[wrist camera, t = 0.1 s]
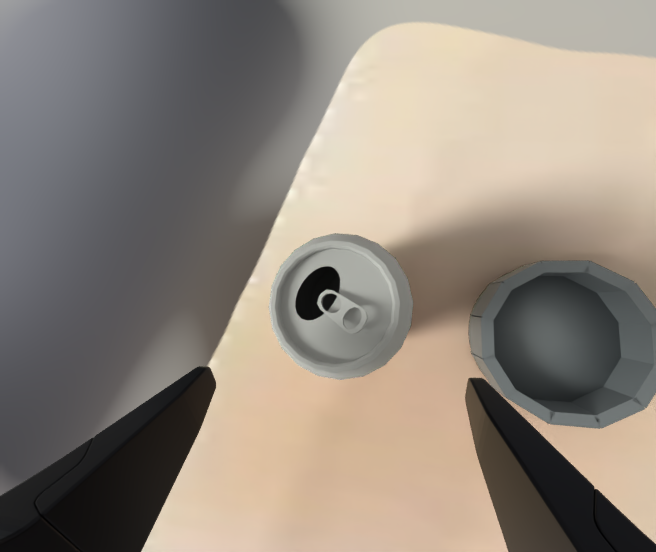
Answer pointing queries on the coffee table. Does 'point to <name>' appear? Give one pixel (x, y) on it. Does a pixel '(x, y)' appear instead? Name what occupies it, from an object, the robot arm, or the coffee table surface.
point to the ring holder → (567, 342)
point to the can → (341, 306)
